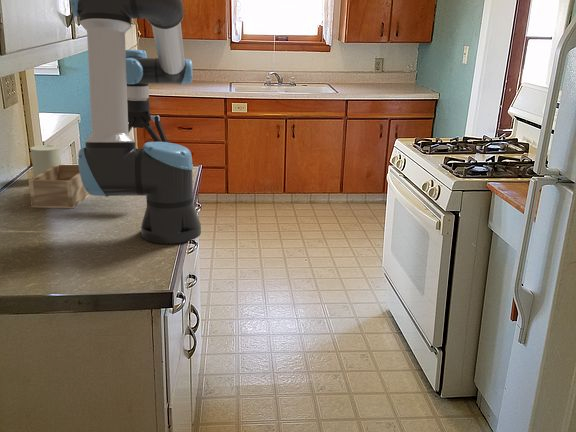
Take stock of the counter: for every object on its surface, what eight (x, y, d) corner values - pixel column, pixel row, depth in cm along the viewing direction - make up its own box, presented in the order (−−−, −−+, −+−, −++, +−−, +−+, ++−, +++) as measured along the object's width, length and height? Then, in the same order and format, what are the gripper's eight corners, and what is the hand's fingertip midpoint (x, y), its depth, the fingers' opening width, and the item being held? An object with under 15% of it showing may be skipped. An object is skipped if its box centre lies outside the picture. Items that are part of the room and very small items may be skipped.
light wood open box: (73, 208, 160) (70, 181, 157) (31, 207, 160) (28, 180, 157) (96, 189, 179) (94, 165, 176) (59, 188, 179) (56, 164, 176)
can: (68, 178, 191) (65, 144, 187) (55, 185, 182) (51, 149, 178) (42, 177, 192) (39, 142, 188) (28, 183, 183) (24, 148, 179)
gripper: (175, 98, 184) (177, 163, 191) (105, 96, 184) (110, 161, 191) (170, 101, 177) (173, 168, 184) (97, 99, 177) (103, 166, 184)
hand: (141, 164), depth 187 cm, fingers open, 11 cm apart
